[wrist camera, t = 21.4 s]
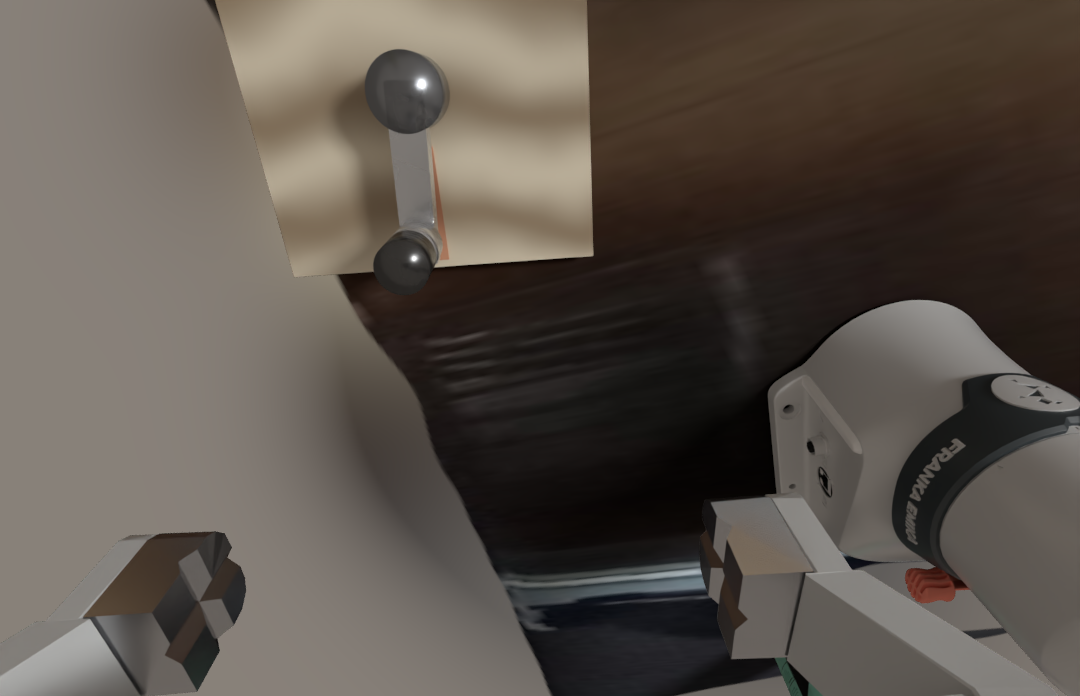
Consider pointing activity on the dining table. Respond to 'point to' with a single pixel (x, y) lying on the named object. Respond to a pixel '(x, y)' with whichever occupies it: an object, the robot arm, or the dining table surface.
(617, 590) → the dining table surface
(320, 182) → the crank board
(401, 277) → the crank
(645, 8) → the dining table surface
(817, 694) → the spray can
